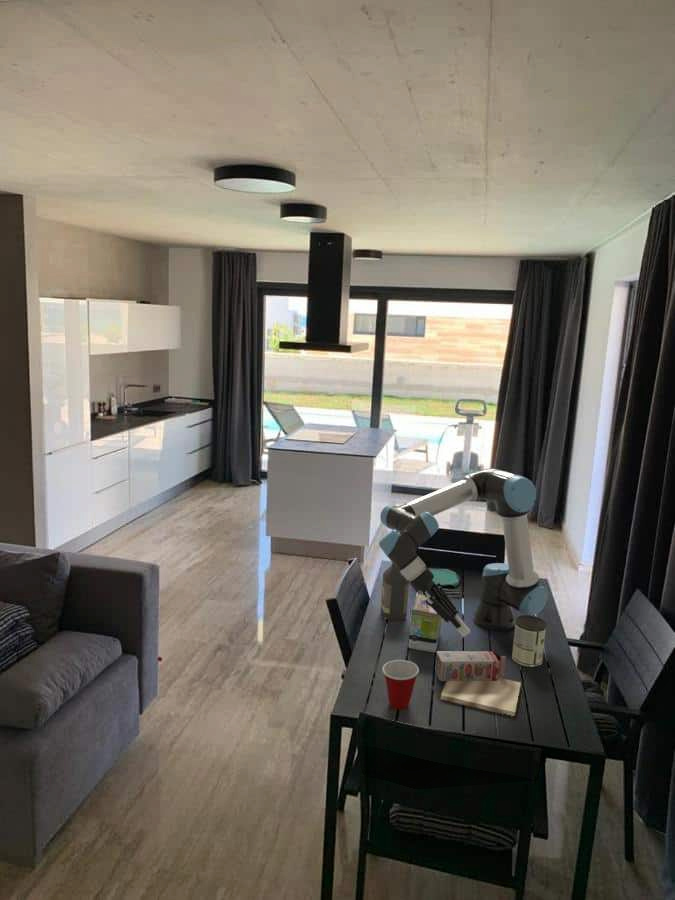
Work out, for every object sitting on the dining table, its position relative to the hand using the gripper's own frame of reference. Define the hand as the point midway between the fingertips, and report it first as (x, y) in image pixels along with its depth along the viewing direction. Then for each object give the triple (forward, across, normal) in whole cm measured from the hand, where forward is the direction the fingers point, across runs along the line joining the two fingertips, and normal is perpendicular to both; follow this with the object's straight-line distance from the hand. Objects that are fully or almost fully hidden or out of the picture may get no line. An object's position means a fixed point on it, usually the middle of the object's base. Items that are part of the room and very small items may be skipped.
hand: (466, 633), depth 207 cm
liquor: (-11, -41, -38) cm, 57 cm away
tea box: (+1, -26, -26) cm, 37 cm away
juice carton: (+4, -2, -16) cm, 16 cm away
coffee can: (+26, -28, -1) cm, 38 cm away
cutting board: (+17, 0, -9) cm, 19 cm away
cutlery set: (-3, -82, -32) cm, 88 cm away
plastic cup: (+2, +18, -24) cm, 30 cm away
